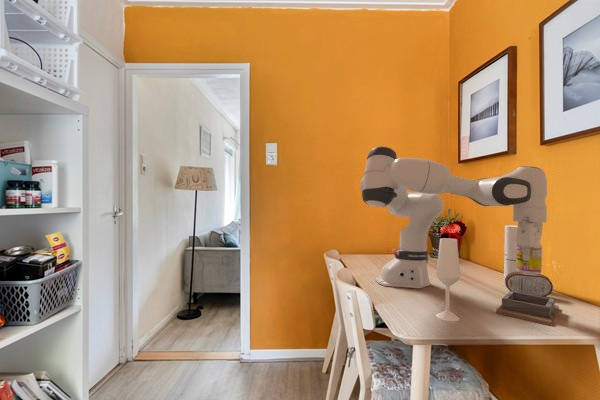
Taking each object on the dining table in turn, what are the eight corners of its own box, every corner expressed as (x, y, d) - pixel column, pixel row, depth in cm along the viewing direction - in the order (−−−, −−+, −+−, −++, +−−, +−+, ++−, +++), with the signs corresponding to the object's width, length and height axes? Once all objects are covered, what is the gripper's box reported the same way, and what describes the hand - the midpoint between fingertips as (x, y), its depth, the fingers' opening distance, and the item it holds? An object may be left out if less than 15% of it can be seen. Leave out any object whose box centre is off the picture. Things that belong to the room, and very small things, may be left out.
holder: (551, 325, 93) (551, 311, 93) (495, 313, 103) (496, 300, 102) (558, 308, 107) (559, 296, 107) (509, 299, 117) (509, 288, 117)
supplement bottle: (511, 270, 108) (512, 232, 108) (530, 270, 108) (530, 232, 108) (527, 275, 101) (527, 234, 101) (546, 275, 102) (547, 234, 102)
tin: (551, 296, 121) (551, 274, 121) (553, 299, 118) (554, 276, 118) (504, 291, 127) (504, 270, 127) (505, 293, 124) (505, 271, 124)
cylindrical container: (517, 282, 141) (518, 225, 140) (527, 287, 133) (528, 227, 133) (500, 282, 141) (501, 225, 141) (509, 286, 134) (510, 226, 134)
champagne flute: (432, 312, 102) (433, 237, 102) (453, 313, 102) (454, 237, 102) (440, 320, 96) (441, 240, 95) (463, 321, 95) (464, 240, 95)
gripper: (536, 218, 95) (535, 264, 95) (545, 216, 110) (545, 256, 110) (511, 217, 99) (510, 261, 99) (523, 215, 114) (522, 253, 114)
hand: (528, 258), depth 105 cm, fingers closed on supplement bottle, 7 cm apart
